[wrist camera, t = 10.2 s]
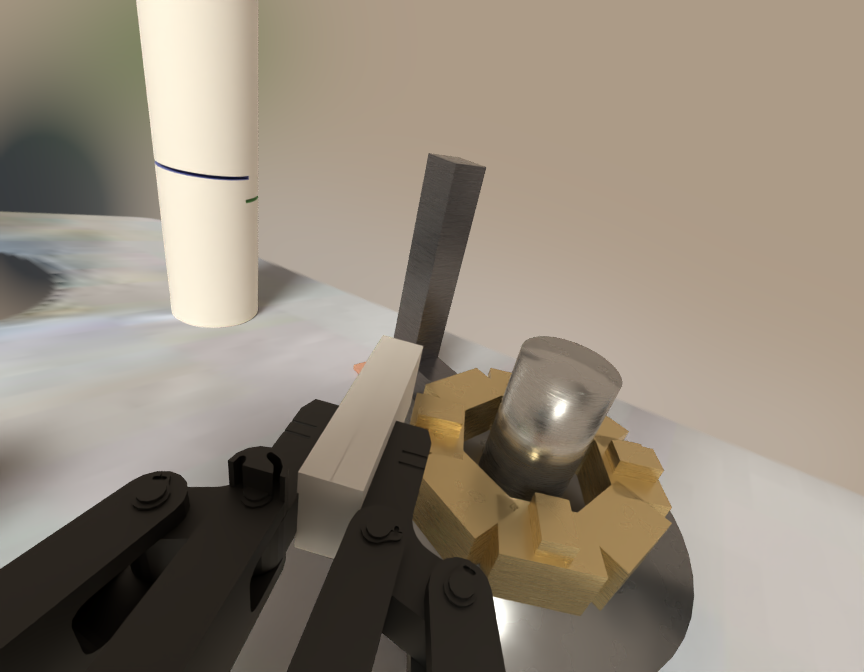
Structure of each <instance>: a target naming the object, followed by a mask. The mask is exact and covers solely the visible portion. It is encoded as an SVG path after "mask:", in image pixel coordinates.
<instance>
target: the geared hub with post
mask: <svg viewBox="0 0 864 672" xmlns="http://www.w3.org/2000/svg"><path fill="white" fill-rule="evenodd" d="M485 170H486V167H485V166H481V165H479V164H476V163H473V162H470V161H467V160H465V159H461V158H459V157H452V156H445V155H437V154H430V153H429V155H428V160H427V165H426V170H425V176H424V182H423V186H422V192H421V197H420V202H419V207H418V213H417V218H416V223H415V229H414V234H413V239H412V245H411V250H410V255H409V260H408V266H407V271H406V276H405V282H404V287H403V292H402V298H401V303H400V308H399V313H398V318H397V324H396V329H395V334H394V338H395V339H399V340H402V341H406V342H410V343H414V344H417V345H421V346H423V350H422V354H421V359H420V364H419V368H418V373H417V377H416V382H415V386H414V391H413V395H412V399H413V400H414V401H415V403H414V407H413V411H412V416H411V420H410V425H413V426H417V427H421V428H424V429H428V431H429V435H430V439H431V443H432V444H431V448H430V452H429V456H428V459H427V463H426V467H425V471H424V475H423V479H422V482H421V486H420V490H419V494H418V498H417V501H416V505H415V509H414V513H413V521H414V522H415V524H416V525H417V526H418V528H419V529H420V530H421V532H422V533H423V534H424V535H425V537H426V538H427V539H428V541H429V542H430V543H431V545H432V546H433V547H434V548H435V550H436V551H437V552H438V554H439V555H440V556H441V558H442V559H443V560H444V559H446V558H452V557H460V558H463V559H467V560H470V561H471V562H473V563H474V564H476V565H478V564H479V563H480V569H481V570H482V571H483V572H484V574H485V575H486V576H487V578H488V581H489V583H490V586H491V589H492V594H493V597H497V598H501V599H505V600H510V601H514V602H519V603H523V604H528V605H532V606H537V607H541V608H545V609H550V610H554V611H559V612H563V613H568V614H572V615H576V616H581V615H582V614H583V612H584V611H585V610H586V608H587V607H588V605H589V604H590V603H591V602H592V603H593V604H594V605H595V606H596V607H597V608H598V609H599V610H600V611H601V610H602V609H603V608H604V606H605V605H606V604H607V603H608V602H609V600H610V599H611V598H612V597H613V596H614V595H615V593H616V592H617V591H618V590H619V589H620V587H621V586H622V585H623V584H624V583H625V582H626V580H627V579H628V578H629V577H630V576H631V574H632V573H633V572H634V571H635V570H636V569H637V567H638V566H639V565H640V564H641V563H642V561H643V560H644V559H645V558H646V556H647V555H648V554H649V553H650V551H651V550H652V549H653V547H654V546H655V545H656V543H657V542H658V541H659V540H660V538H661V537H662V536H663V534H664V533H665V532H666V531H667V529H668V528H669V527H670V525H671V524H672V523H671V522H670V521H669V520H667V519H666V518H665V516H666V515H667V514H668V512H669V511H670V510H671V508H672V507H671V505H670V503H669V501H668V499H667V497H666V495H665V493H664V490H663V488H662V486H661V484H660V482H659V480H658V479H659V477H660V476H661V474H662V473H663V471H664V470H663V468H662V466H661V464H660V462H659V460H658V458H657V456H656V454H655V452H654V450H653V449H650V448H646V447H642V446H641V444H637V443H633V442H628V441H624V439H625V437H626V435H627V434H628V432H629V431H627V430H626V429H625V428H623V427H622V426H620V425H619V424H617V423H616V422H615V421H613V420H612V419H610V418H609V417H607V416H605V418H604V420H603V422H602V424H601V426H600V427H599V429H598V431H597V433H596V435H595V437H594V439H593V440H592V442H591V444H590V446H589V448H588V450H587V452H586V453H585V455H584V457H583V459H582V461H581V463H580V464H579V466H578V468H577V470H576V472H575V474H576V475H577V478H578V481H579V485H580V489H581V492H582V496H583V500H584V503H585V507H584V508H583V509H582V510H580V511H579V512H578V513H577V512H572V510H571V506H570V502H569V500H567V499H563V498H558V497H554V496H549V495H545V494H541V493H536V492H535V493H534V495H533V497H532V499H531V501H530V502H529V501H524V500H520V499H516V498H511V497H509V496H508V495H507V494H506V493H505V492H504V491H503V490H502V489H501V488H500V487H499V486H498V485H497V484H496V483H495V482H494V481H493V480H492V479H491V478H490V477H489V476H488V475H487V474H486V473H485V472H484V471H483V470H482V469H481V468H480V467H479V466H478V465H477V464H476V463H475V462H474V461H473V460H472V459H471V458H470V457H469V456H468V455H467V454H466V453H465V452H464V451H463V442H465V441H467V440H469V439H471V438H473V437H475V436H478V435H480V434H482V433H484V432H486V431H488V430H490V431H491V428H492V425H493V422H494V420H495V417H496V414H497V412H498V409H499V406H500V404H501V401H502V398H503V395H504V393H505V390H506V387H507V385H508V382H509V379H510V377H511V374H512V373H510V372H505V371H501V370H497V369H493V368H490V371H489V374H488V377H487V376H486V375H485V374H483V373H482V372H481V371H480V370H478V369H477V368H475V369H472V370H469V371H466V372H463V373H459V374H457V373H456V372H455V371H453V370H452V369H451V368H450V367H449V366H447V365H446V364H445V363H444V362H443V361H442V360H440V359H439V358H438V354H439V350H440V346H441V342H442V338H443V334H444V330H445V326H446V322H447V318H448V315H449V311H450V307H451V303H452V299H453V295H454V291H455V287H456V283H457V280H458V276H459V272H460V268H461V264H462V260H463V256H464V252H465V248H466V244H467V241H468V237H469V233H470V229H471V225H472V221H473V217H474V213H475V209H476V205H477V202H478V198H479V193H480V190H481V186H482V182H483V178H484V174H485Z"/></svg>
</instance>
